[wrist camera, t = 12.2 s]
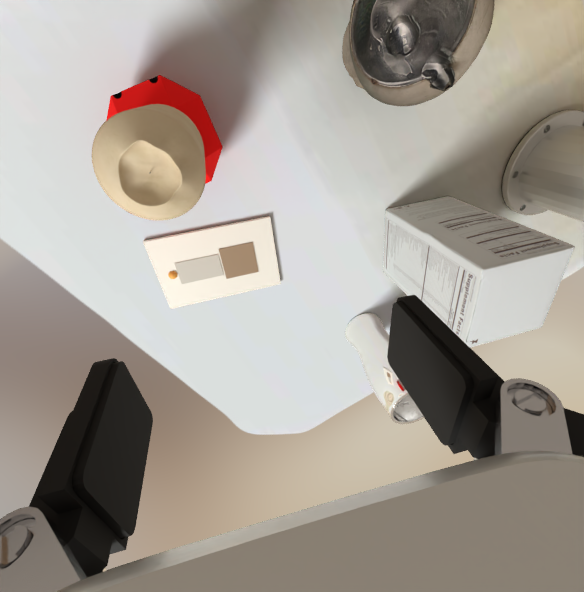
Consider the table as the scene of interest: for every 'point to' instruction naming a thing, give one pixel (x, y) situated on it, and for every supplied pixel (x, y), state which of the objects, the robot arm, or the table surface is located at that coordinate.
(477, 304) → the supplement box
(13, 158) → the table surface
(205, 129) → the ball
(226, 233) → the card
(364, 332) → the beer glass
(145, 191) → the candle
